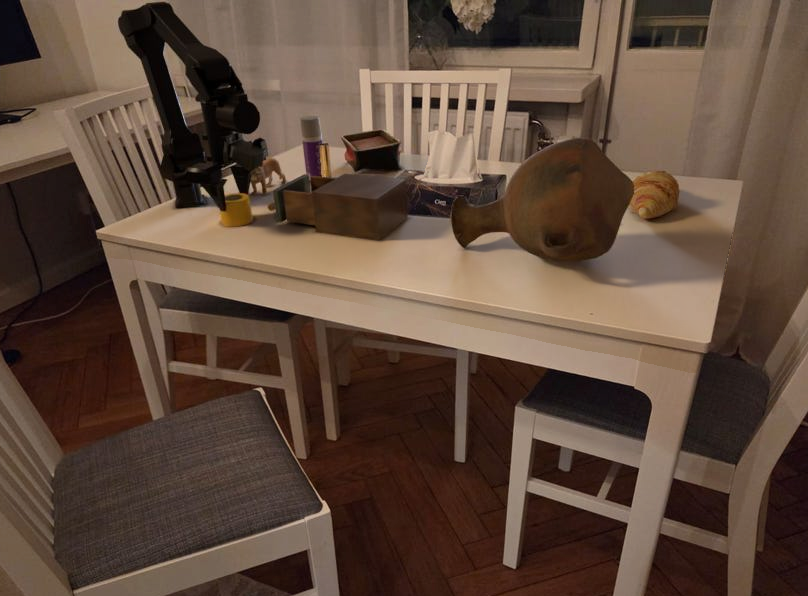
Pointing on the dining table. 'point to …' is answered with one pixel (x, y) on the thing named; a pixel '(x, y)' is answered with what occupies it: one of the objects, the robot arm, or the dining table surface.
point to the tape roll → (236, 210)
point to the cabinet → (360, 206)
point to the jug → (554, 204)
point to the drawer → (297, 199)
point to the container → (311, 144)
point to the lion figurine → (266, 175)
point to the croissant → (654, 194)
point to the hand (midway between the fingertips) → (234, 205)
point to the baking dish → (372, 150)
